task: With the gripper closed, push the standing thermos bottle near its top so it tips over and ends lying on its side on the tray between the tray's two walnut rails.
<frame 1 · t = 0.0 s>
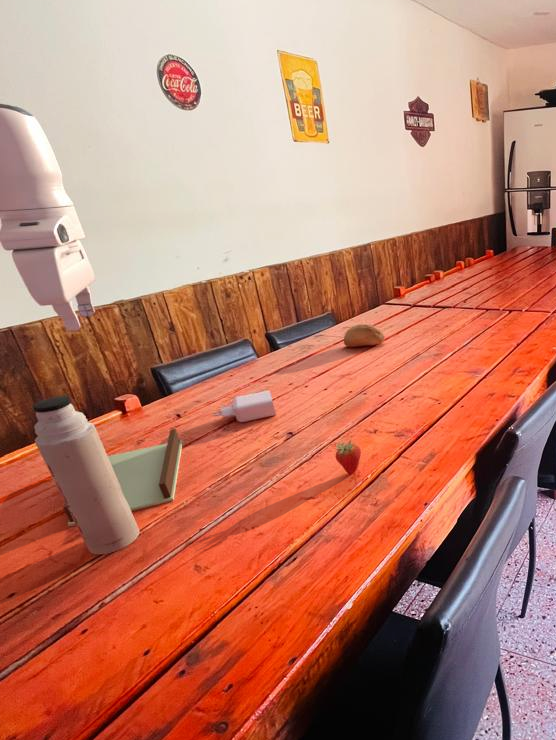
hand: (82, 321, 81), 39 cm above the table, tool pointing down, fingers open, 8 cm apart
thermos bottle: (115, 540, 93), on the table
bread roll: (365, 346, 191), on the table
fruit: (352, 472, 111), on the table
tray: (133, 479, 112), on the table
white nozzle bottle: (246, 417, 139), on the table
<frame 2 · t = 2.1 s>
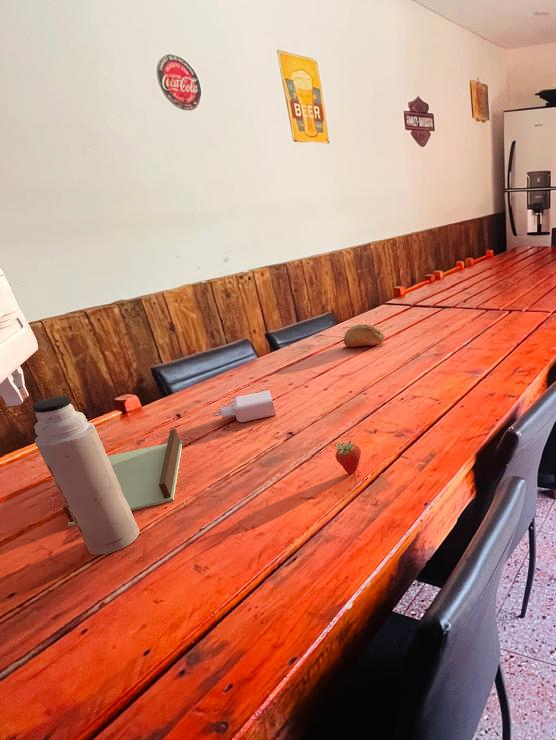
hand: (19, 401, 71), 32 cm above the table, tool pointing down, fingers closed
nothing on the table moved.
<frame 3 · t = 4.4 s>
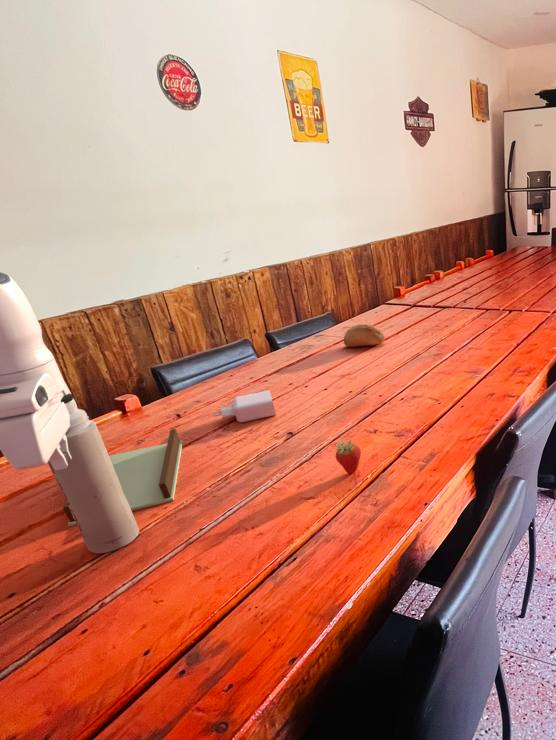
hand: (63, 465, 80), 19 cm above the table, tool pointing down, fingers closed
thermos bottle: (114, 540, 93), on the table, touching gripper
everything else where it was.
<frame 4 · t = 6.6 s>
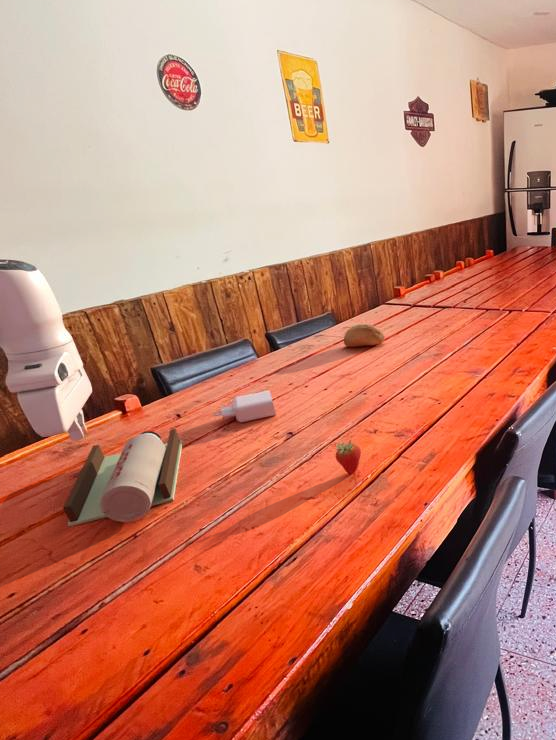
hand: (80, 436, 89), 19 cm above the table, tool pointing down, fingers closed
thermos bottle: (125, 504, 95), point 5 cm above the table, touching tray
everything else where it was.
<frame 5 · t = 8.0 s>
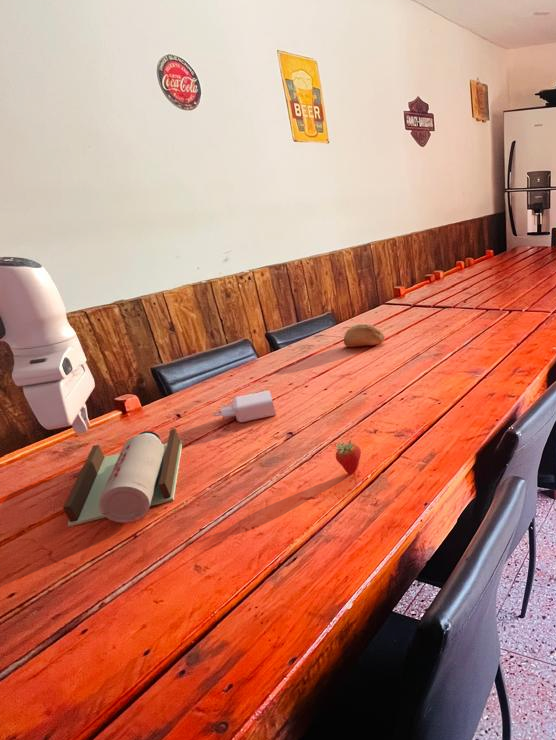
hand: (83, 430, 92), 19 cm above the table, tool pointing down, fingers closed
nothing on the table moved.
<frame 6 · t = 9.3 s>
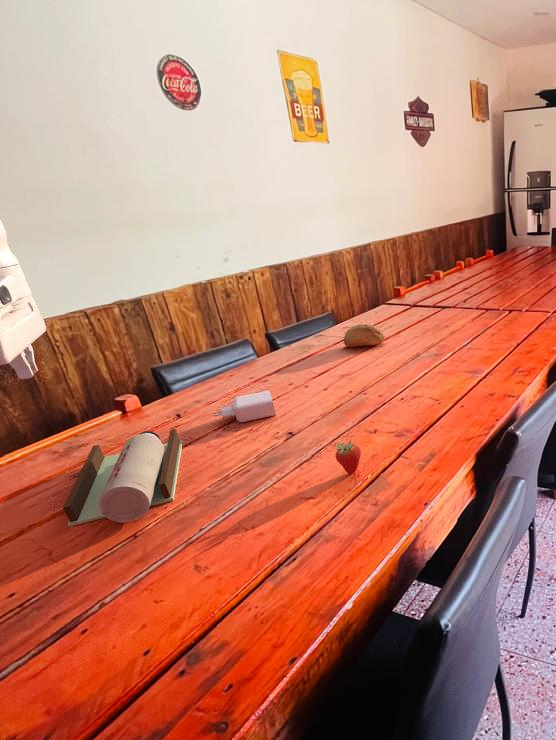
hand: (29, 375, 81), 32 cm above the table, tool pointing down, fingers closed
nothing on the table moved.
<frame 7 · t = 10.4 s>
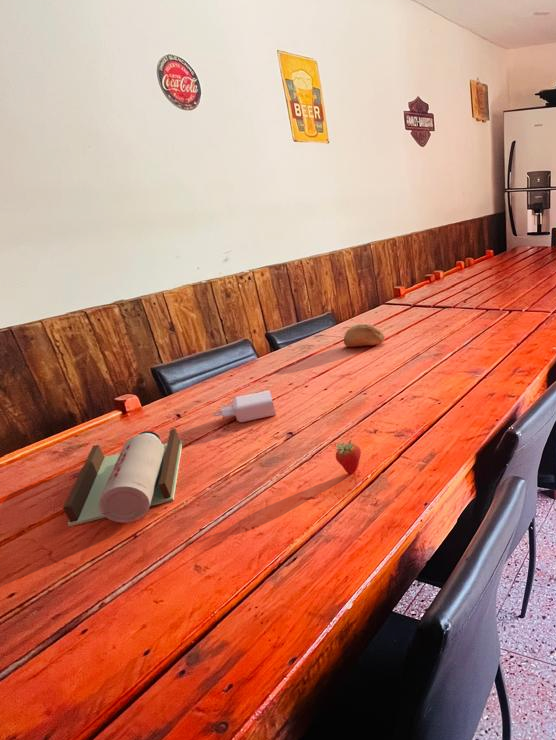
nothing on the table moved.
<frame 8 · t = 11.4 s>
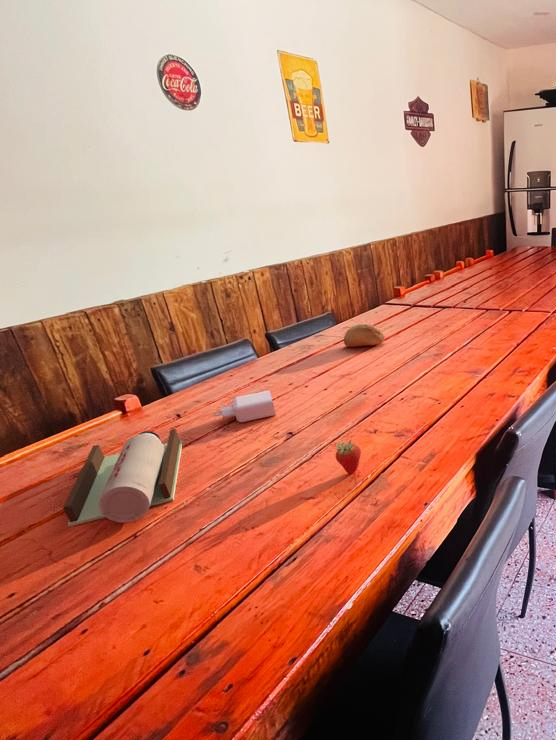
nothing on the table moved.
at the end: thermos bottle tilted 90°; thermos bottle touching tray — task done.
